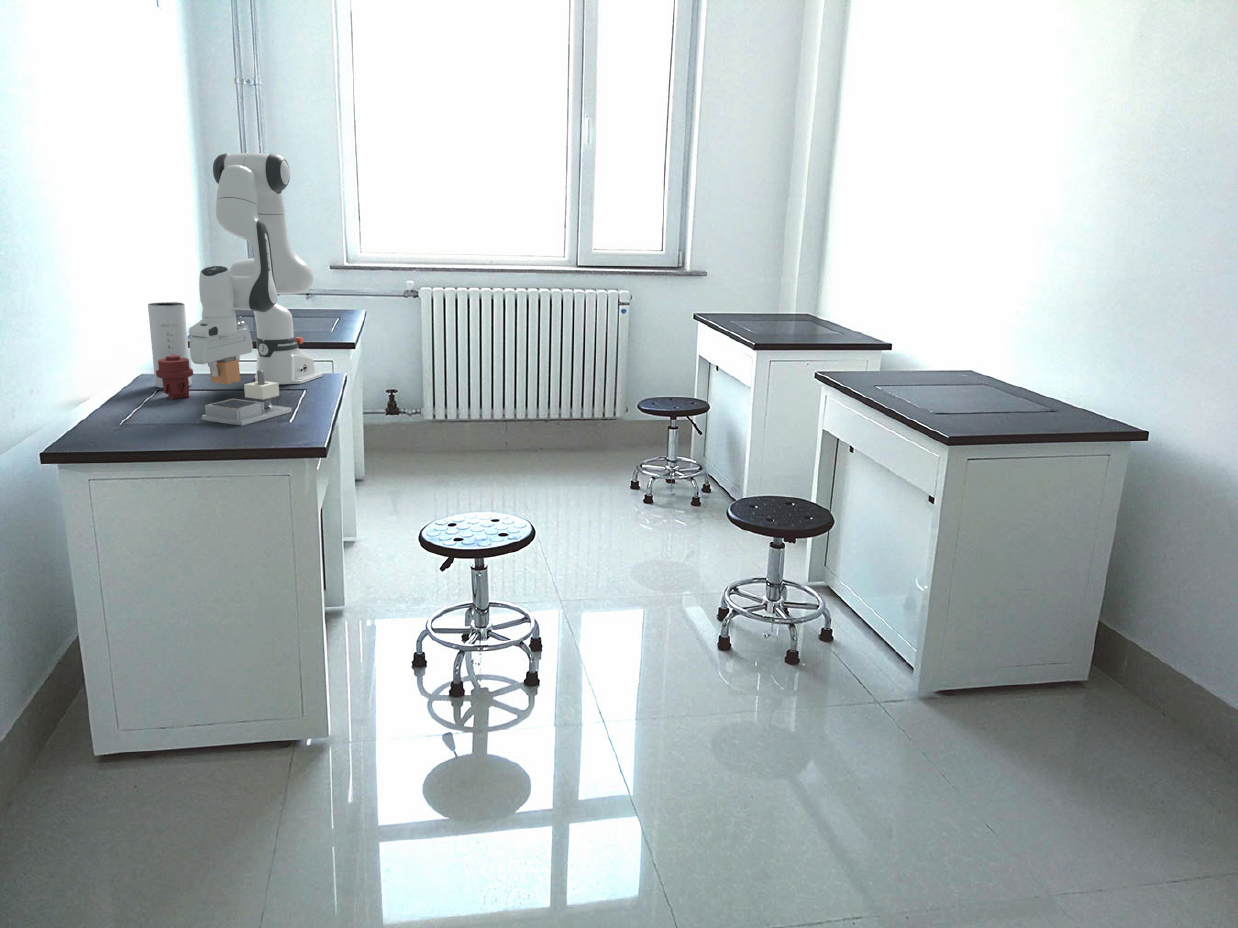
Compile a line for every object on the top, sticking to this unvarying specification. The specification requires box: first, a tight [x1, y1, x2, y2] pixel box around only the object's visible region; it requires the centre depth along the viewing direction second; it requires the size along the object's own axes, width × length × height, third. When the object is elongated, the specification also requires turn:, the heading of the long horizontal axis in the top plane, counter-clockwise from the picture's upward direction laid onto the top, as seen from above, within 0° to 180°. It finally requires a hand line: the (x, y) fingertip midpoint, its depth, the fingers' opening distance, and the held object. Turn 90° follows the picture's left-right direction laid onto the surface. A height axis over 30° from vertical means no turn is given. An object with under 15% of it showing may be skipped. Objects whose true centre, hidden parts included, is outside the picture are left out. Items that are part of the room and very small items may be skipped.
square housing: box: [243, 381, 280, 399], centre depth 271 cm, size 6×6×4 cm
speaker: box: [147, 301, 192, 389], centre depth 300 cm, size 11×10×26 cm
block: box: [209, 357, 241, 385], centre depth 276 cm, size 5×6×7 cm
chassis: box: [201, 370, 293, 427], centre depth 266 cm, size 19×14×12 cm
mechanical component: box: [156, 355, 194, 400], centre depth 286 cm, size 12×10×10 cm
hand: (225, 373), depth 277 cm, fingers closed on block, 5 cm apart
